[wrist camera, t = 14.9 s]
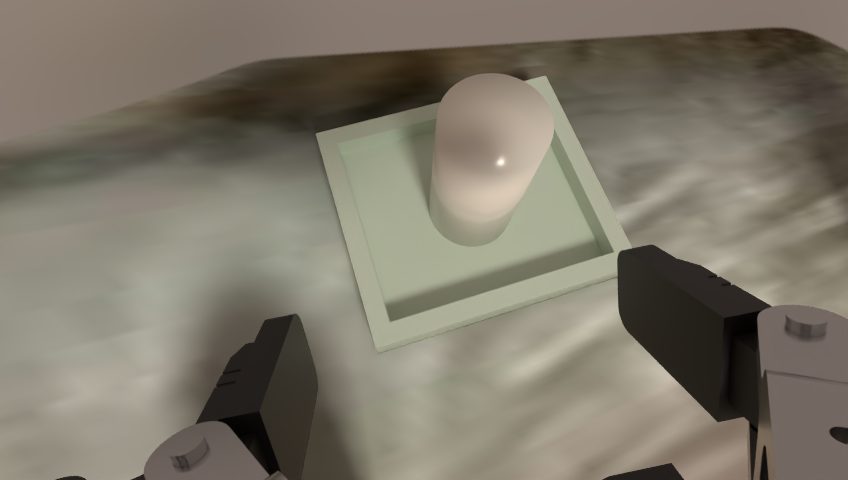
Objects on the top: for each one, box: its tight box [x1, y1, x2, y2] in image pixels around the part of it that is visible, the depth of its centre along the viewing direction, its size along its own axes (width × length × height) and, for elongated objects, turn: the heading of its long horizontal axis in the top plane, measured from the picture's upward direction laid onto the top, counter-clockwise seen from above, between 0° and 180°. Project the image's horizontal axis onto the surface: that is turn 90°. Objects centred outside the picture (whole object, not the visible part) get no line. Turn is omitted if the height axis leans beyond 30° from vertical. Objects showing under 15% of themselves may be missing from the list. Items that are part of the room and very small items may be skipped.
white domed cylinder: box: [429, 73, 554, 247], centre depth 27 cm, size 6×6×10 cm
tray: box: [316, 76, 632, 354], centre depth 31 cm, size 17×15×2 cm
